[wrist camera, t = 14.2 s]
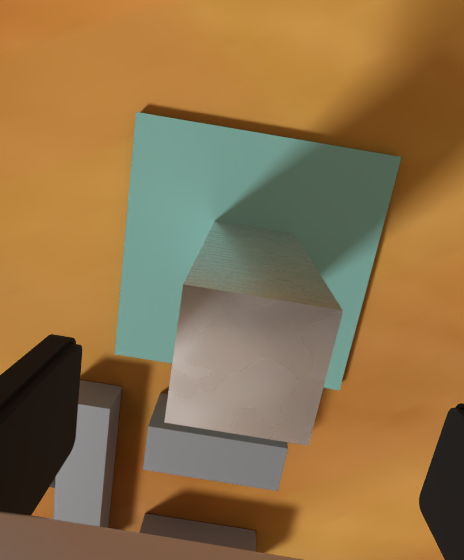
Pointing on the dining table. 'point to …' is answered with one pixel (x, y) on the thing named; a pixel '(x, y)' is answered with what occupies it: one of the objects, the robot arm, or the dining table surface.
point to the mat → (243, 218)
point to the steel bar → (252, 337)
